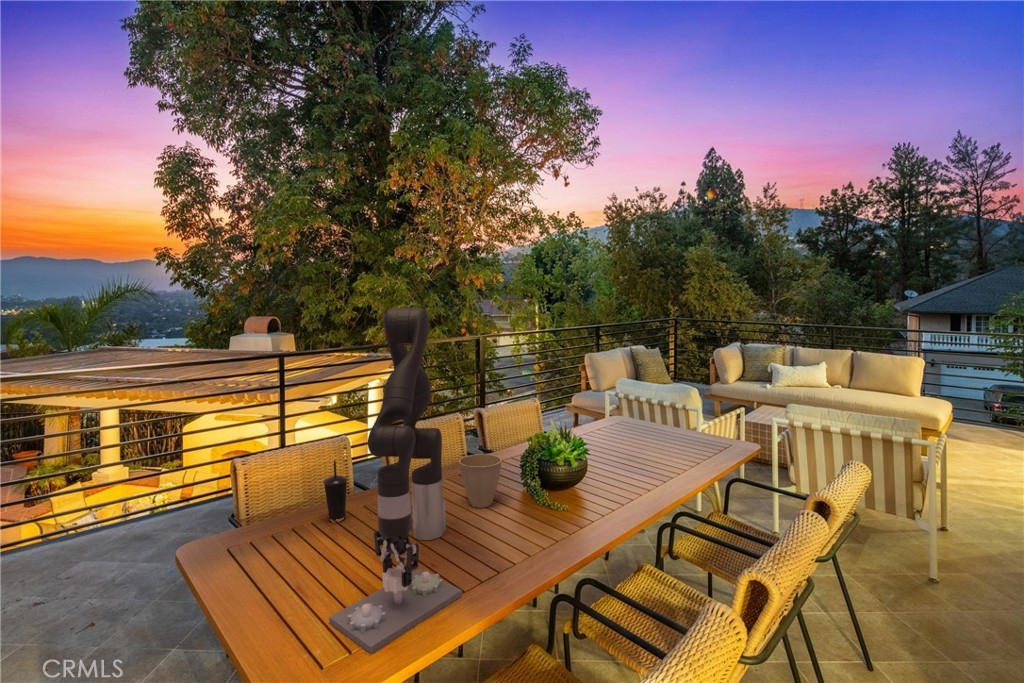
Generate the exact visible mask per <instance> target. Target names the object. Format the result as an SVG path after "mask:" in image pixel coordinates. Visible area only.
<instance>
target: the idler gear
mask: <svg viewBox="0 0 1024 683" xmlns="http://www.w3.org/2000/svg"><path fill="white" fill-rule="evenodd" d="M401 571H402V570H401V567H400V565H396V566H395V567H393V568H388V569H387V572H386V573H383V572H382V575H381V576H382V578H381V580H382V588H384V589H385V591H386V592H388V591H393V593H397V591H402V590H404V591H405V590H407V587H408V586H407V587H403V586H402V573H401ZM410 585H411V584H410Z"/></svg>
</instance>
